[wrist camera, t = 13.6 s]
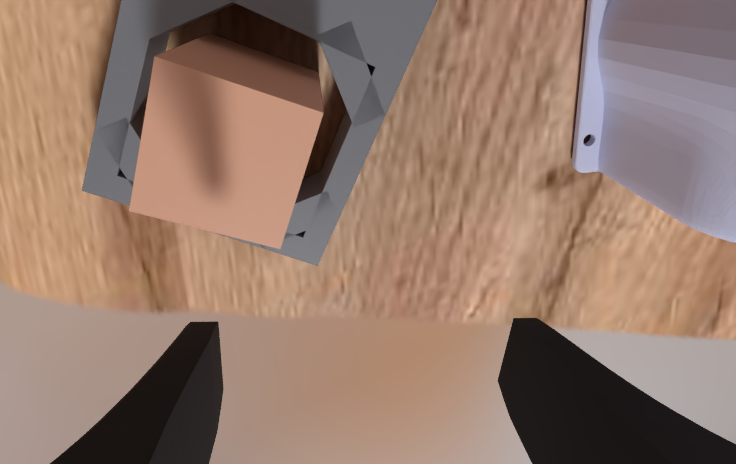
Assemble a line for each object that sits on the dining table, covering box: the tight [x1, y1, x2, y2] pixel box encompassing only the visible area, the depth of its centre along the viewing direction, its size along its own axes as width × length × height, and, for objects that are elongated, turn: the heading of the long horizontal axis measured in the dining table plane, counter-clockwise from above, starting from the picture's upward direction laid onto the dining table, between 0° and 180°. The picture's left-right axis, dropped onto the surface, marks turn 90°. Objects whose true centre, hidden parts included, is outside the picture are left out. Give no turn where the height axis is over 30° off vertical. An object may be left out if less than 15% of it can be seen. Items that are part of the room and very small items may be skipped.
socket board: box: [82, 0, 437, 266], centre depth 16 cm, size 16×9×2 cm, turn 156°
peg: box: [129, 34, 324, 249], centre depth 16 cm, size 4×4×7 cm
